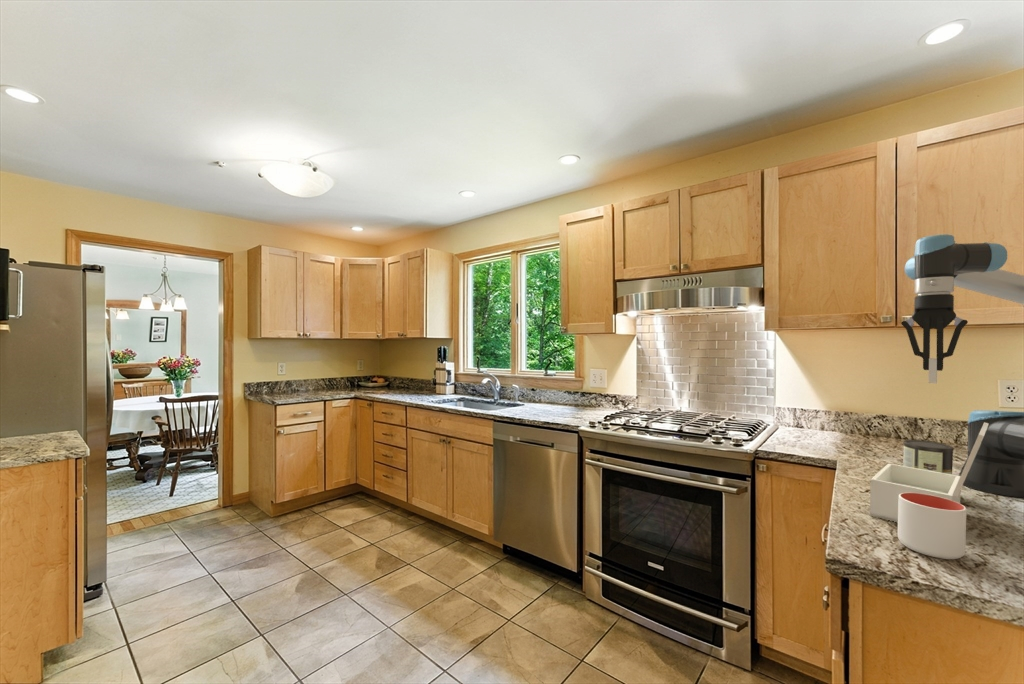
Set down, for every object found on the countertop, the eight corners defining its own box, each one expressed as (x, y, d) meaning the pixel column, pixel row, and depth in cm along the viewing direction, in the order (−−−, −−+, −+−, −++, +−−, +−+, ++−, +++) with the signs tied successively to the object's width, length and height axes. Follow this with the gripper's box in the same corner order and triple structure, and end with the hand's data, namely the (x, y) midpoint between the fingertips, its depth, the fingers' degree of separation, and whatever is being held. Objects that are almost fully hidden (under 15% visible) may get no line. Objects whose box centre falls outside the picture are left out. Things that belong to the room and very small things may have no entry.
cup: (949, 566, 82) (951, 514, 82) (886, 543, 92) (888, 495, 91) (975, 556, 86) (976, 506, 86) (912, 535, 96) (914, 490, 95)
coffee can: (933, 489, 126) (935, 440, 126) (962, 502, 116) (964, 449, 116) (892, 486, 128) (894, 438, 128) (917, 498, 118) (919, 447, 118)
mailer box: (869, 515, 106) (870, 479, 105) (887, 495, 120) (888, 463, 120) (951, 536, 95) (952, 495, 95) (959, 511, 109) (961, 476, 109)
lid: (978, 434, 92) (984, 436, 91) (984, 422, 106) (989, 423, 106) (952, 494, 95) (958, 497, 94) (961, 474, 109) (966, 476, 109)
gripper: (899, 295, 118) (898, 382, 118) (969, 291, 108) (968, 385, 108) (902, 297, 123) (901, 380, 123) (969, 293, 113) (968, 383, 114)
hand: (932, 382), depth 116 cm, fingers closed
